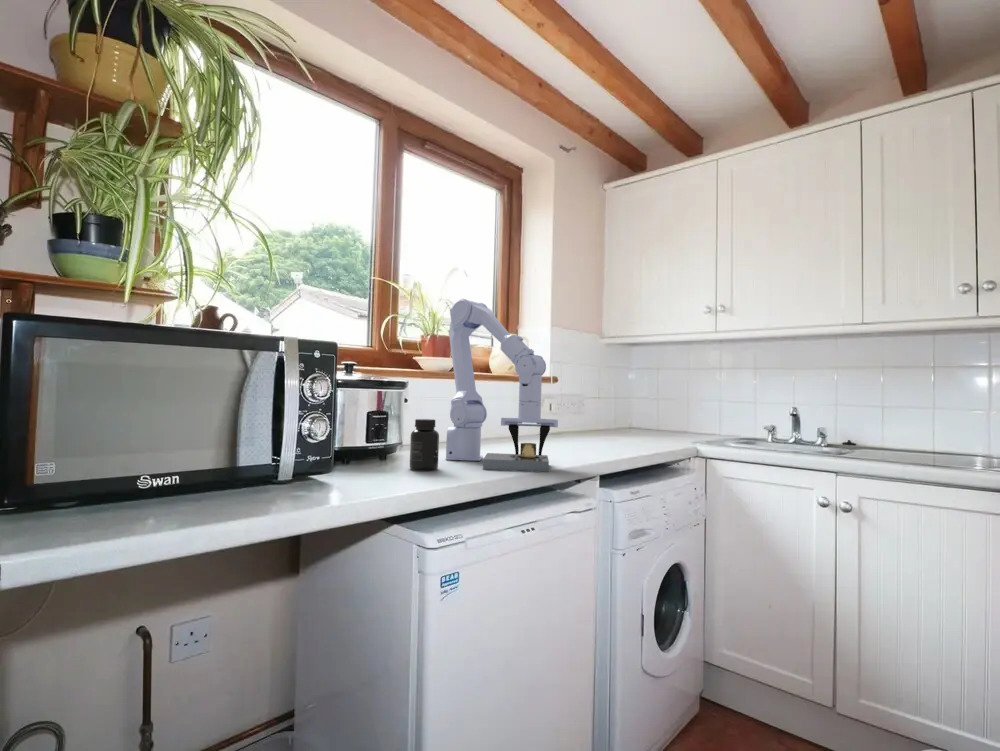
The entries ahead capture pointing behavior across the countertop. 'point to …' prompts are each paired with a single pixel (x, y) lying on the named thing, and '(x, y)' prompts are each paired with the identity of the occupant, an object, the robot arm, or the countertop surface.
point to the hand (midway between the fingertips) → (528, 454)
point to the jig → (515, 462)
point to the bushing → (528, 450)
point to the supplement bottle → (424, 446)
